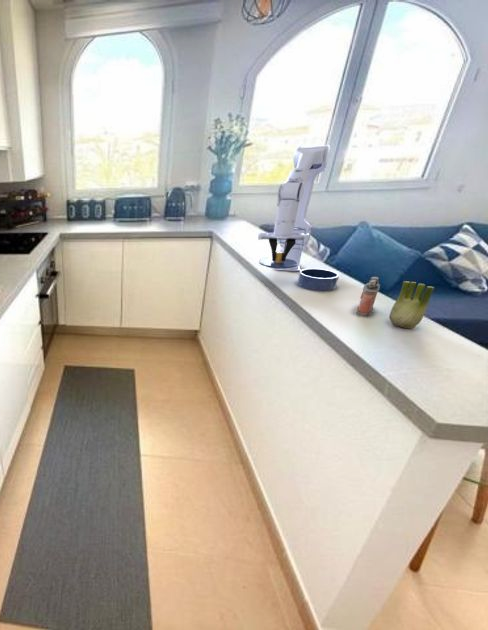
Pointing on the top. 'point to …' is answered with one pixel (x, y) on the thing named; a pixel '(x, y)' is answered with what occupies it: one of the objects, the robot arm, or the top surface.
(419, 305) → the fennel bulb
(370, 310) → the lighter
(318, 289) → the bowl
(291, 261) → the tin lid
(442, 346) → the top surface
